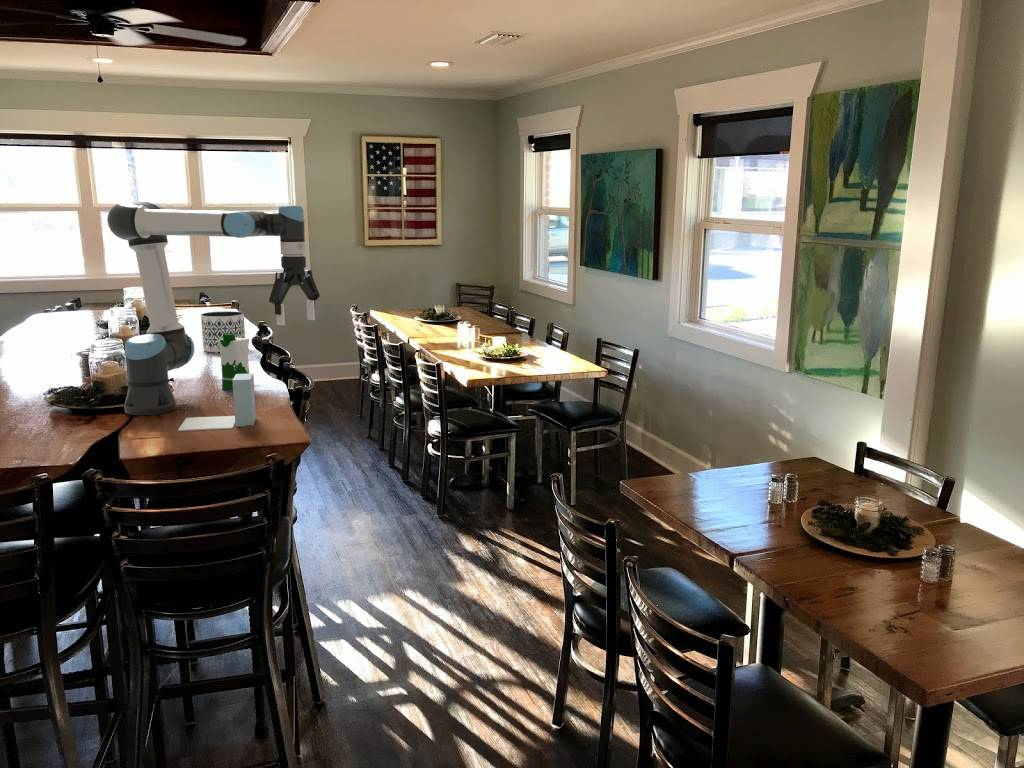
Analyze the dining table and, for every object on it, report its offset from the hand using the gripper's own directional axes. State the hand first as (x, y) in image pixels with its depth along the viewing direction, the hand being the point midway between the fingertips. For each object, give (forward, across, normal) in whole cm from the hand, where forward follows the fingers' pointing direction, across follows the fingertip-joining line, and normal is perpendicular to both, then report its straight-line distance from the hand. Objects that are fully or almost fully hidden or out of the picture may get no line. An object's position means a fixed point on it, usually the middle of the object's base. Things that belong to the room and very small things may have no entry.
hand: (296, 322), depth 258 cm
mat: (+27, -32, +6) cm, 42 cm away
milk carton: (+28, +6, +36) cm, 46 cm away
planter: (+28, +62, +104) cm, 124 cm away
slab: (+27, -25, -2) cm, 37 cm away
